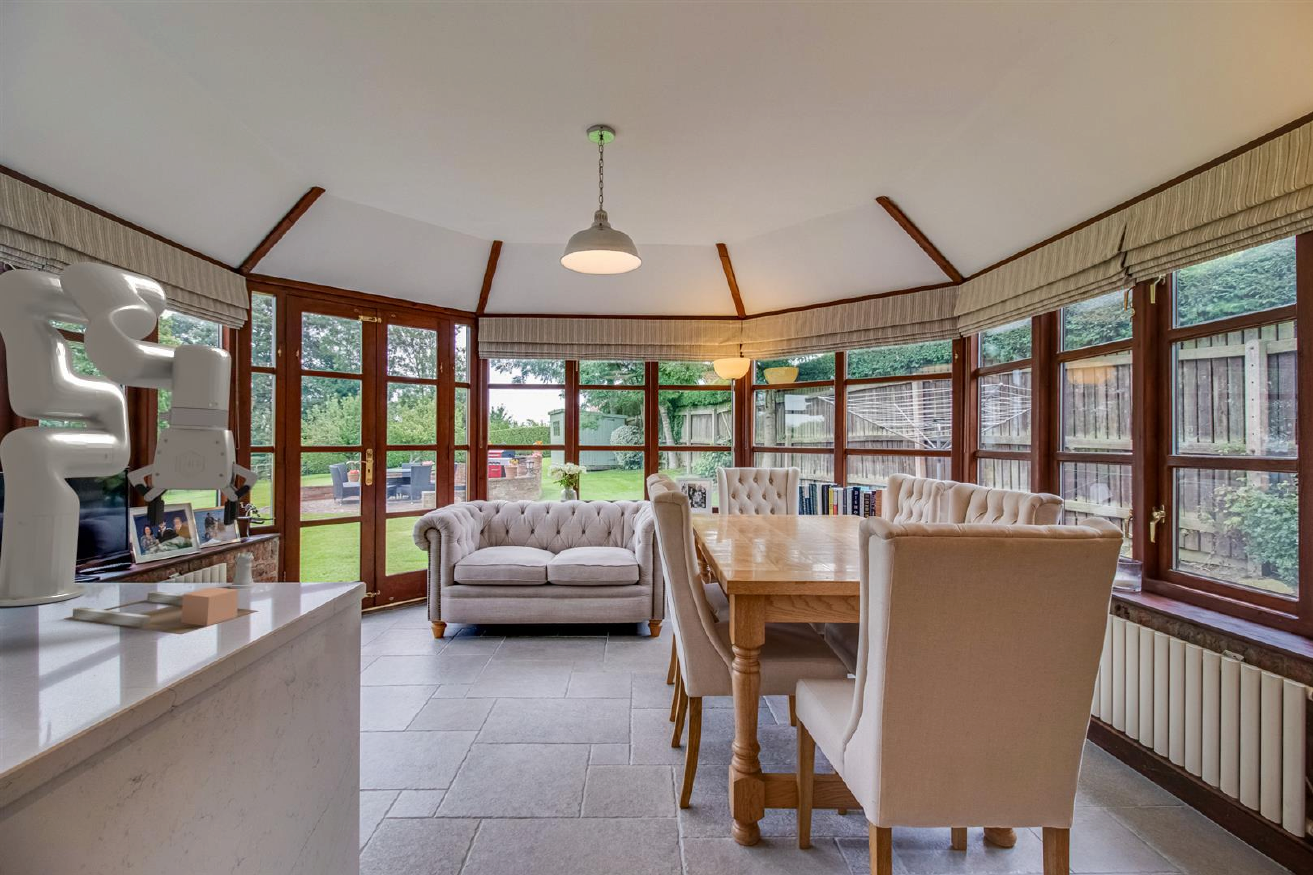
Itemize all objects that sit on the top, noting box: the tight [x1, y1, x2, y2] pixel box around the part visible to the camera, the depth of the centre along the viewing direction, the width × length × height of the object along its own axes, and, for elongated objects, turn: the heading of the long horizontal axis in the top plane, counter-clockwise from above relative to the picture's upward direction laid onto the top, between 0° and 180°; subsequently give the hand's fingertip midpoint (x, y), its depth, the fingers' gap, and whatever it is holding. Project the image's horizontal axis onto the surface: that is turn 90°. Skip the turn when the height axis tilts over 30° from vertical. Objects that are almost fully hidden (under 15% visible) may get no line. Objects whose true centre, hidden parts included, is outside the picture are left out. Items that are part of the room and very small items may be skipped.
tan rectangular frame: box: [63, 590, 259, 635], centre depth 94 cm, size 23×13×3 cm, turn 78°
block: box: [181, 586, 239, 627], centre depth 92 cm, size 5×5×4 cm
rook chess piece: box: [228, 551, 257, 590], centre depth 114 cm, size 4×4×8 cm
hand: (193, 524), depth 93 cm, fingers open, 9 cm apart
